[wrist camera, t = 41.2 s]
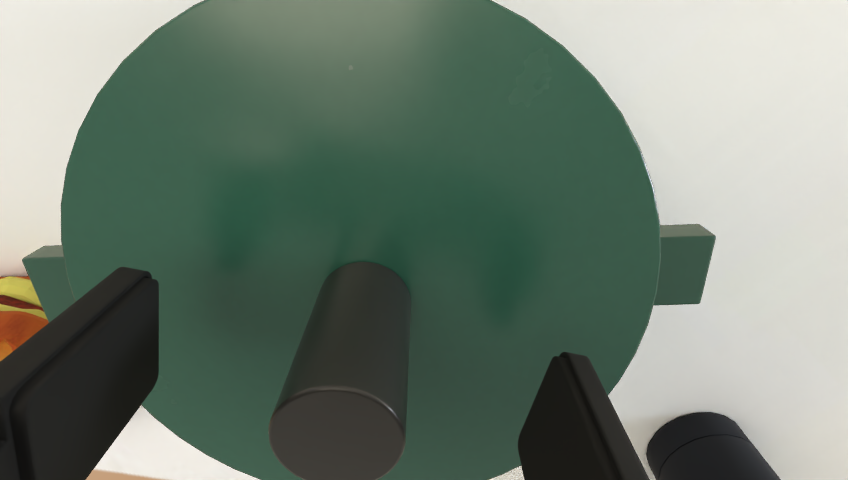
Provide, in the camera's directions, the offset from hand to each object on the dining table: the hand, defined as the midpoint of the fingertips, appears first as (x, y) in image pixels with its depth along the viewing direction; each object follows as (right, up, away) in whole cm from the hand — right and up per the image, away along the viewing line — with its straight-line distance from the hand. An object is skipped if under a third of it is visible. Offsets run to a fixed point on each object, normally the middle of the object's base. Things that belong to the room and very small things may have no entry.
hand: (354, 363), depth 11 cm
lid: (0, +1, +3) cm, 3 cm away
